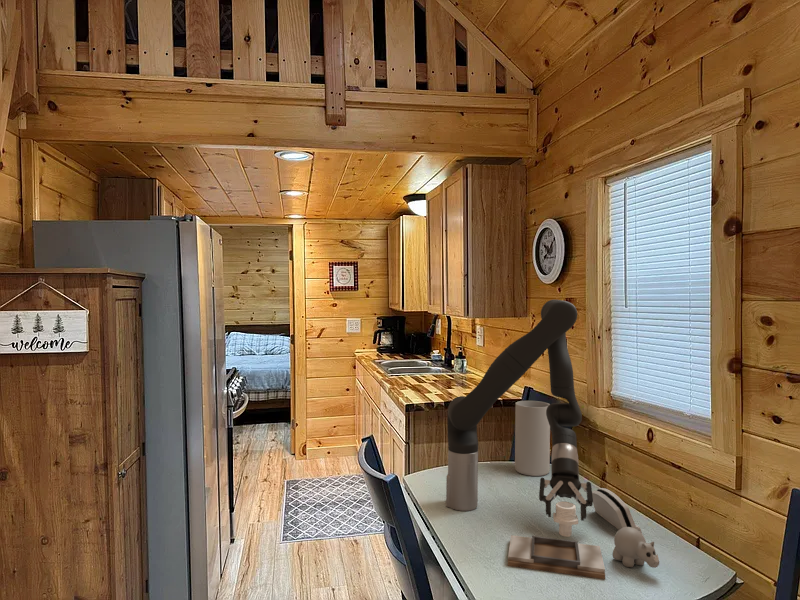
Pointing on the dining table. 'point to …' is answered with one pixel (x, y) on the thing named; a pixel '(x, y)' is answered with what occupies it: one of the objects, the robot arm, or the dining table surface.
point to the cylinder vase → (532, 438)
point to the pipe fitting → (565, 517)
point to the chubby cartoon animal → (634, 548)
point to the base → (556, 556)
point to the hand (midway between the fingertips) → (566, 517)
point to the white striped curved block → (613, 509)
